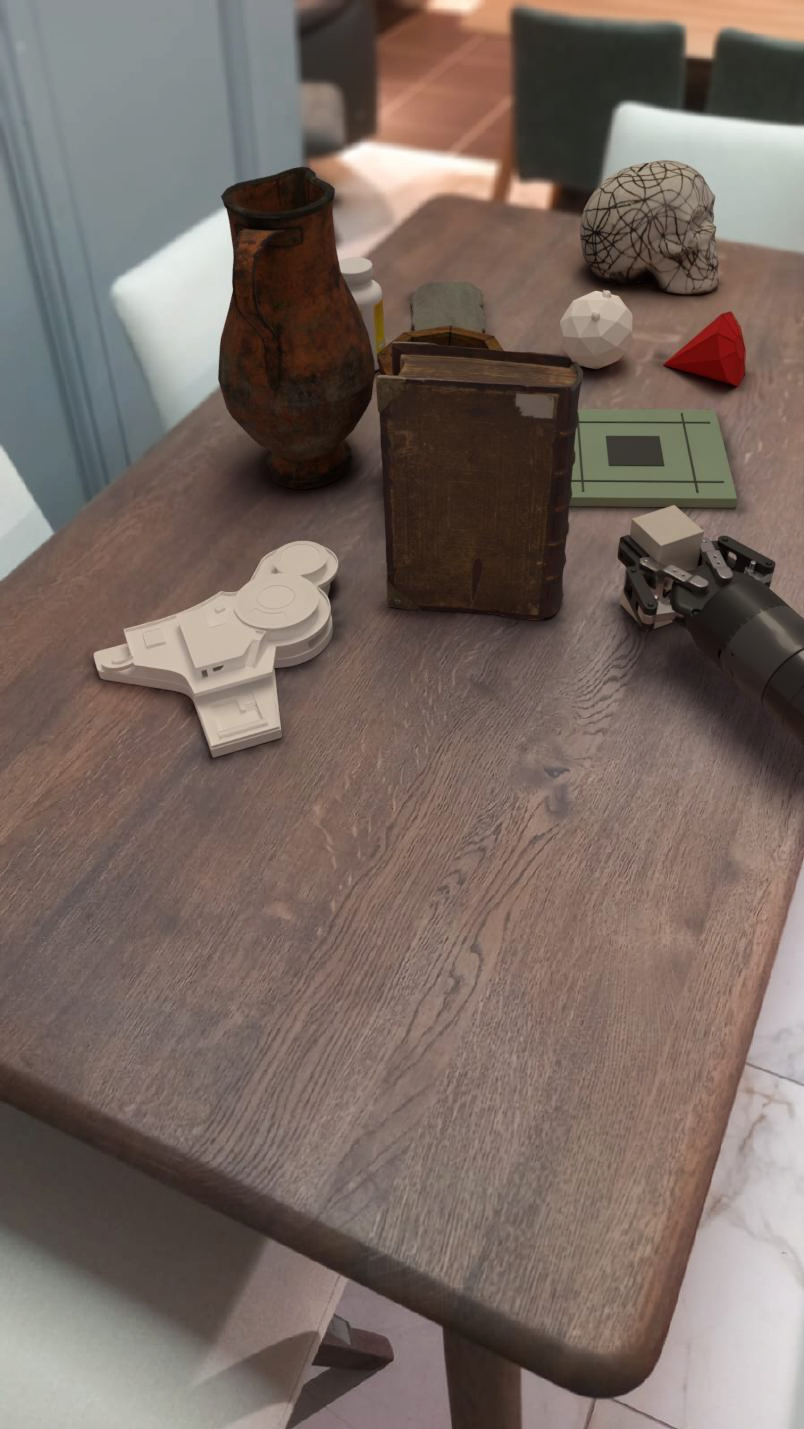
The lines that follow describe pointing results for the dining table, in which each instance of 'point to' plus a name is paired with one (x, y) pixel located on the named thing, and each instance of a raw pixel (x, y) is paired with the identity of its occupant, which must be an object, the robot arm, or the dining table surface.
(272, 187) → the pitcher
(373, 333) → the supplement bottle
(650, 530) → the beige rectangular block
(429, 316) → the stone slab
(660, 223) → the sculpture
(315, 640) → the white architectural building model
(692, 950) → the dining table surface
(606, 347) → the decorative ball
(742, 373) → the gemstone
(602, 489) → the grid board
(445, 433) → the book
